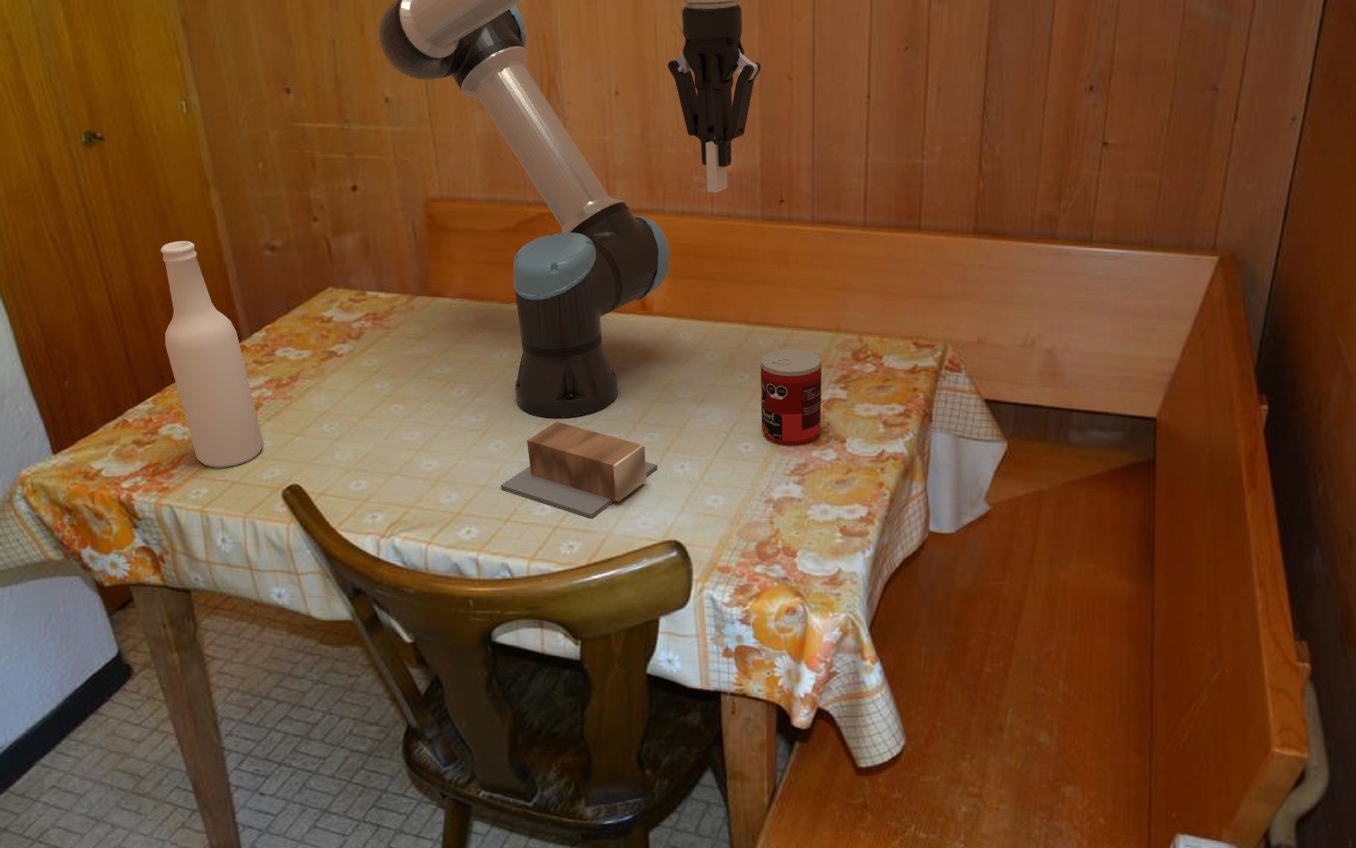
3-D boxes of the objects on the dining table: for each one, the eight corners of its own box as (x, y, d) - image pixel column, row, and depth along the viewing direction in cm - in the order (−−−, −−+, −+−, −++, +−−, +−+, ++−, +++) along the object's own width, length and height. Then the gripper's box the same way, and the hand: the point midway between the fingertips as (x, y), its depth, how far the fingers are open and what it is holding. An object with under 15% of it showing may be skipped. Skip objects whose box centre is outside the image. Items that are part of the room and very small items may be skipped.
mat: (501, 489, 140) (500, 485, 139) (569, 444, 150) (569, 440, 150) (591, 518, 132) (591, 514, 132) (657, 468, 143) (657, 464, 142)
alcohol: (269, 436, 157) (219, 231, 143) (259, 465, 149) (206, 251, 135) (204, 443, 155) (149, 238, 142) (191, 473, 148) (131, 258, 134)
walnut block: (618, 501, 134) (531, 474, 142) (646, 480, 139) (560, 455, 146) (615, 466, 132) (527, 440, 139) (644, 445, 137) (556, 421, 144)
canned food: (757, 423, 153) (756, 350, 148) (814, 419, 153) (815, 346, 148) (766, 449, 146) (765, 373, 141) (825, 444, 147) (826, 368, 142)
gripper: (652, 6, 139) (662, 191, 149) (740, 8, 132) (744, 201, 143) (684, -1, 144) (692, 178, 155) (771, 1, 138) (773, 187, 148)
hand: (717, 189), depth 149 cm, fingers closed
